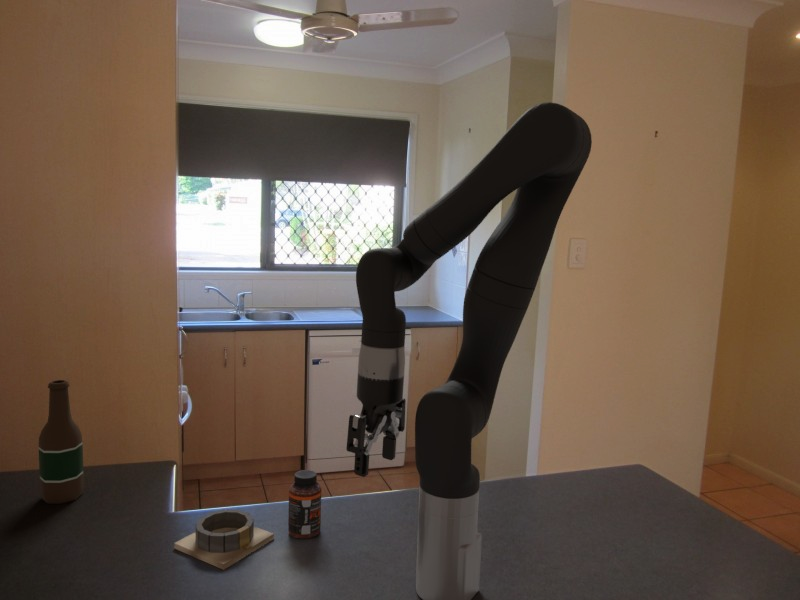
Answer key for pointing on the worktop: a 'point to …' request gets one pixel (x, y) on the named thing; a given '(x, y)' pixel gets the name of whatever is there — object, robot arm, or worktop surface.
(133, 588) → the worktop surface
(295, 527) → the supplement bottle
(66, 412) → the beer bottle
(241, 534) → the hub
